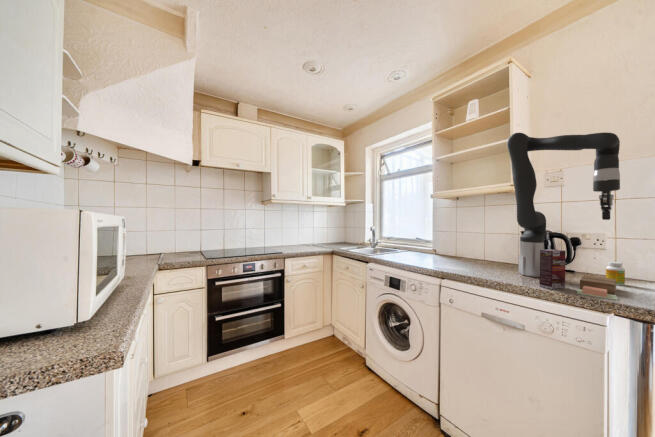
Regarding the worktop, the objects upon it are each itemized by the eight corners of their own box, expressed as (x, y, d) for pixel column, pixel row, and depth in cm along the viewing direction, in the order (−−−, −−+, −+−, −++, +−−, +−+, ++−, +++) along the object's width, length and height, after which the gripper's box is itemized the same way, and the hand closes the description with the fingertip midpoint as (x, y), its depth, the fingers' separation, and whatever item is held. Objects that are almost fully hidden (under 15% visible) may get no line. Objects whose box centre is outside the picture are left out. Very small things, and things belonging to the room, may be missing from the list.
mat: (577, 293, 91) (577, 292, 91) (577, 290, 96) (577, 289, 96) (617, 300, 84) (617, 299, 84) (615, 295, 89) (615, 295, 89)
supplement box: (552, 289, 97) (552, 251, 97) (538, 286, 101) (538, 249, 101) (566, 288, 99) (566, 250, 99) (552, 284, 104) (552, 248, 104)
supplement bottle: (619, 286, 103) (619, 263, 103) (602, 282, 108) (602, 261, 108) (628, 285, 104) (628, 263, 104) (611, 282, 109) (611, 261, 109)
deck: (584, 284, 105) (584, 275, 105) (615, 289, 98) (615, 279, 98) (579, 289, 96) (579, 280, 96) (614, 295, 89) (614, 284, 89)
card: (582, 287, 91) (582, 293, 91) (606, 291, 86) (606, 297, 86) (583, 285, 94) (583, 290, 94) (607, 289, 89) (607, 294, 89)
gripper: (594, 182, 109) (595, 219, 109) (591, 179, 101) (591, 219, 101) (620, 180, 103) (620, 219, 103) (619, 177, 95) (619, 219, 95)
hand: (606, 219), depth 102 cm, fingers closed
